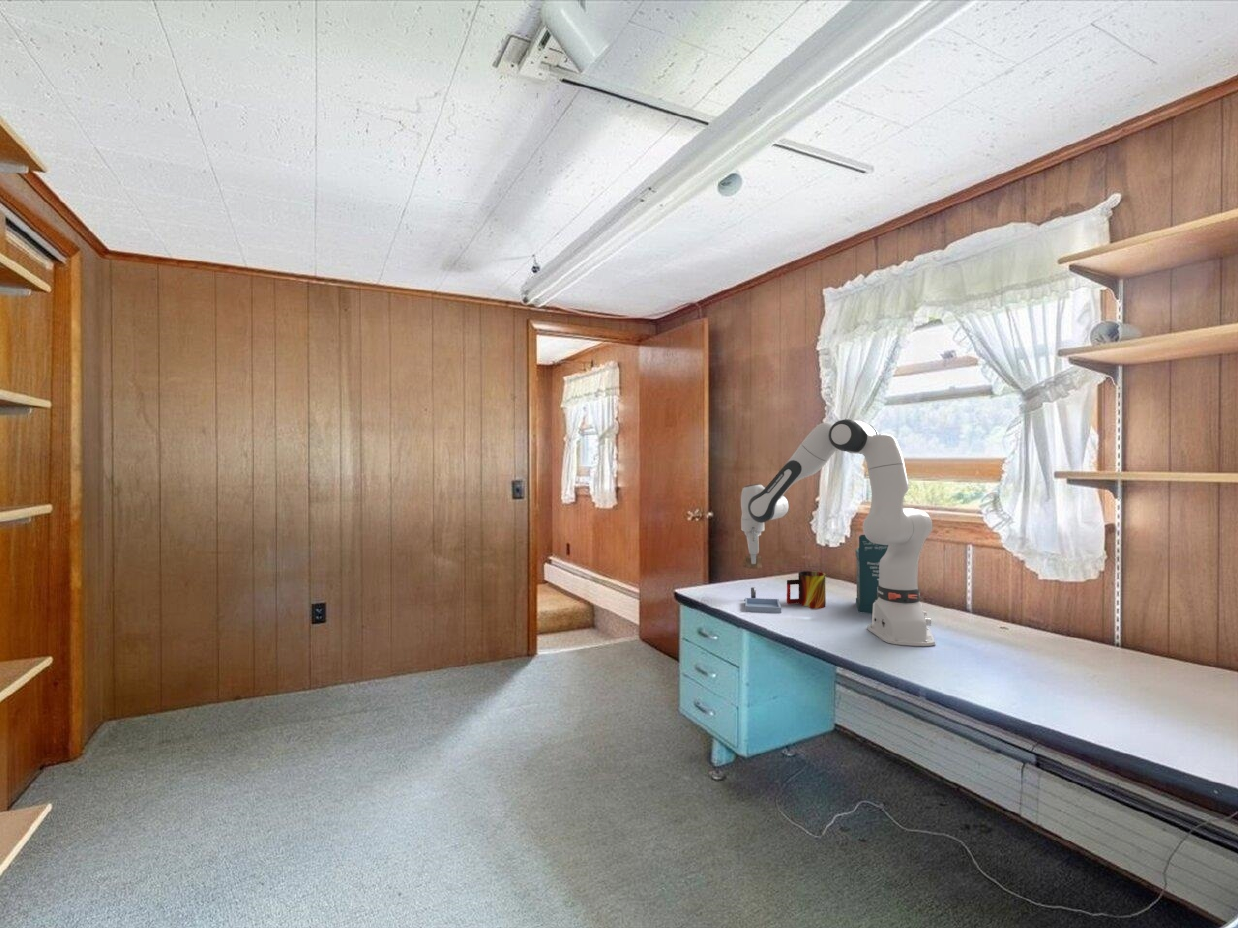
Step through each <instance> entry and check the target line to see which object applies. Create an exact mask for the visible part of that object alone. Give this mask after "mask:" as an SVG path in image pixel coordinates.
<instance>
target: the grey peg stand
mask: <svg viewBox="0 0 1238 928" xmlns="http://www.w3.org/2000/svg"><path fill="white" fill-rule="evenodd" d="M756 593H757V590H756V587H755V586H754V587H753V586H752V587H750V598H757V596H756V595H757V594H756ZM743 600H744V602H745V598H744V599H743Z"/></svg>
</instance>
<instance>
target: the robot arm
mask: <svg viewBox="0 0 1238 928" xmlns="http://www.w3.org/2000/svg"><path fill="white" fill-rule="evenodd" d="M901 450H902V449H901V448H900V446H899V443H898V441H897V439H896V437H894V436H893V435H891V434H888V433H880V434H879V432H878V431H877V429H876V428H875V427H874V426H873V425H871V424H869V423H865V422H863V421H860V420H855V419H851V418H850V419H849V418H847V419H846V418H845V419H841V420H838V421H836V422H835V423H833V424H831V423H829V422H822V423H819V424H818V425H816V426H815V427H814V428H813V429H812V430H811V431H810V432H809V434H808V435H806V437H804V439H803V440H802V442H801V443H800V444H799V446H798V447H797V449H796V450H795V452H794V453H792V456H790V458H789V459H788V460H787V461H786V463H785V464H784V466H783V467H781V468H780V470H779V471H778V473H777V474H775V476H774V477H773V478H772V480H770V482H769V483H768V484H767V485H766V487H765V486H764V485H762V484H761V483H760V484H759V483H755V484H749V485H745V486H744V487H742V489H741V493H740V509H741V517H740V526H741V527H740V529H741V531H742V532H744V535H745V536H746V541H747V548H748V554H750V555H751V563H752V564H756V555H758V554H759V552H760V543H759V541H760V539H759V537H760V536H762V532H765V527H766V526H765V523H766V522H768V521H773V520H777V519H781V518H783V517H785V516H786V515H787V514H788V512H789V509H790V504H789V500H788V499H787V497H786V496H785V494H786V492H787V491H788V490H789V489H790V487H792V486H793V485H794V484H795V483H797V482H798V481H800V480H803V479H806V478H808V477H811V476H814V475H815V474H816V473H819V472H820V471H821V469H822V468H824V466H825V465H826V464H827V463H828V461H829V460H830V459H831V457H832V456H833V455H834V454H835V453H836V452H837V451H842V452H847V453H850V454H857V455H858V454H860V455H862V456H863V457H864V459H865V462H866V466H867V467H866V468H867V472H868V477H869V483H870V490H871V501H870V508H869V511H868V514H867V516H866V517H865V518H864V520H863V524H862V532H863V535H865V537H866V538H867V539H868V540H869V541H870V542H872V543H875V544H880V545H888V548H887V551H886V553H885V555H884V556H883V557H882V558H881V560H880V562H879V585H878V589H877V591H878V596H879V597H878V599H877V600H876V601H875V602H874V603H873V613H871V614H872V615H871V616H872V617H871V618H872V619H871V620H872V621H871V623H870V624H867V625H866V629H867V630H868V631H869V632H871V633H872V634H873V635H875V636H876V637H877V638H879V639H880V640H882V641H883V642H885V643H888V644H892V645H893V644H894V645H898V646H899V645H900V646H901V645H902V646H912V647H913V646H916V647H930V646H936V641H935V638H934V635H933V632H932V630H931V628H929V627H930V626H932V619H931V618H930V617H928V616H927V615H928V614H927V611H924V609H923V604H922V603H921V602H920V601H921V598H920V597H921V595H920V589H919V587H918V573H919V572H918V569H919V568H918V566H919V560H920V555H921V553H922V550H923V546H924V543H925V541H926V540H927V538H928V537H929V536H930V534H931V533H932V530H933V521H932V518H931V517H930V515H929V514H928V513H927V512H925V511H923V510H921V509H915V508H912V507H911V508H904V500H905V496H906V494H907V492H908V491H909V488H910V485H909V480H908V477H907V475H908V474H907V469H906V466H905V459H904V457H903V454H902V451H901ZM926 616H927V617H926Z"/></svg>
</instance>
